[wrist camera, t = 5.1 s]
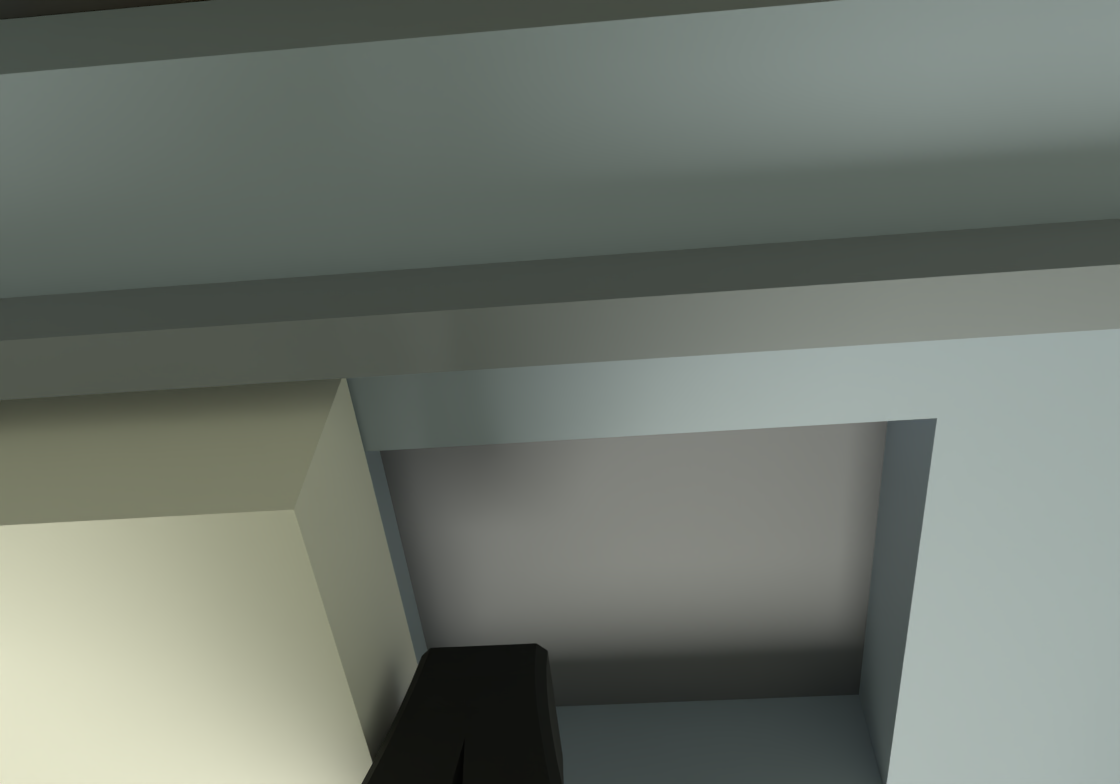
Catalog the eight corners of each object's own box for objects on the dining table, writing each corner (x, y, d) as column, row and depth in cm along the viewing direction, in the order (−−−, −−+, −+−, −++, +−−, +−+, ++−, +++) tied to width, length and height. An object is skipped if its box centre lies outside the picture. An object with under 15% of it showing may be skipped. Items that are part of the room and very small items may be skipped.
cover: (345, 370, 10) (259, 601, 7) (465, 854, 14) (438, 1100, 12) (-434, 421, 10) (-758, 650, 8) (-84, 870, 15) (-221, 1107, 12)
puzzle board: (1631, -131, 9) (1991, -68, 7) (1211, 822, 17) (1309, 1002, 14) (-668, 80, 11) (-1023, 190, 8) (-75, 860, 18) (-171, 1029, 16)
